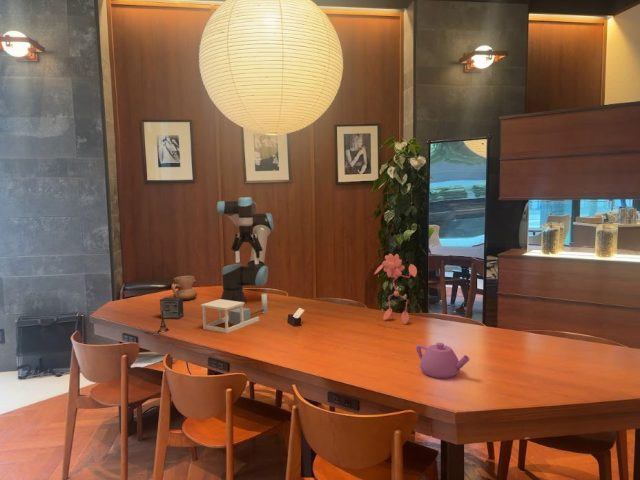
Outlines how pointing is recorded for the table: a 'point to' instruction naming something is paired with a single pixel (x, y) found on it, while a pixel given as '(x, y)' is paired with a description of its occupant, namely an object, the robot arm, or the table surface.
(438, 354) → the teapot
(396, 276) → the pink flower figurine
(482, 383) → the table surface
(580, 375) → the table surface
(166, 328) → the eiffel tower figurine
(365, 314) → the table surface
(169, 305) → the small box
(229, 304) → the frame
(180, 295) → the ceramic jug
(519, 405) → the table surface
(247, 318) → the block
